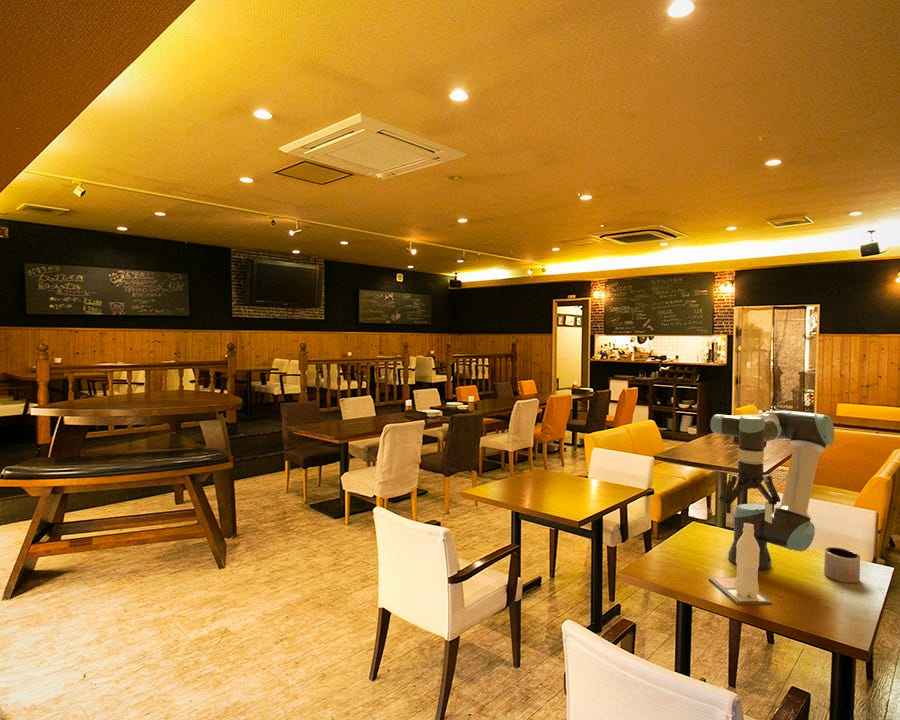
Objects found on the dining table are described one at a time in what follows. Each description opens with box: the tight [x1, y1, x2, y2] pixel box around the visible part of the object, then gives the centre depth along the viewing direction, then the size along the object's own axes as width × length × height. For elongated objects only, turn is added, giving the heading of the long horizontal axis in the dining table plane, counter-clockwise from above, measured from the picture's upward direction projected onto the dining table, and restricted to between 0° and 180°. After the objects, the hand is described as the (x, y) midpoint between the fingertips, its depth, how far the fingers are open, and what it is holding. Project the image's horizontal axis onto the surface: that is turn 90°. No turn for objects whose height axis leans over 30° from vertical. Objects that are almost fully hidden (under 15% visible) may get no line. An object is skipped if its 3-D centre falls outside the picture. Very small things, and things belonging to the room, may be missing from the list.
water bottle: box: [735, 523, 760, 598], centre depth 181 cm, size 7×7×25 cm
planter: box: [823, 546, 861, 584], centre depth 197 cm, size 11×11×10 cm
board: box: [708, 576, 772, 605], centre depth 186 cm, size 12×18×1 cm, turn 2°
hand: (749, 522), depth 181 cm, fingers open, 13 cm apart
